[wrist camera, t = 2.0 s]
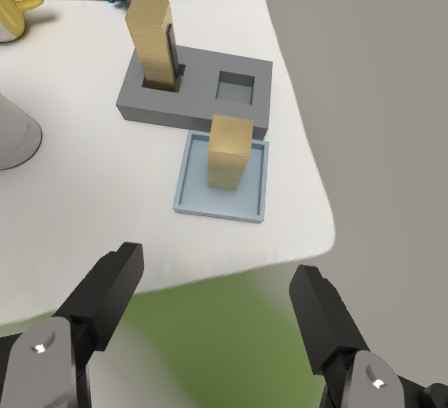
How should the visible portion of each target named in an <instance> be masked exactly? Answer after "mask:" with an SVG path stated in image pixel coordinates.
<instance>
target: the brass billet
mask: <svg viewBox="0 0 448 408" xmlns="http://www.w3.org/2000/svg"><path fill="white" fill-rule="evenodd" d="M253 122H254V120H248V119H242V118H235V117H229V116H223V115H216V114H213V120H212V126H211V132H210V138H209V144H208V188H215V189H222V190H229V191H236V189H237V187H238V185H239V182H240V180H241V177H242V175H243V173H244V170H245V168H246V165H247V163H248V161H249V158H250V154H251V144H252V133H253Z"/></svg>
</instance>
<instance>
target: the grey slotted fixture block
mask: <svg viewBox="0 0 448 408" xmlns="http://www.w3.org/2000/svg"><path fill="white" fill-rule="evenodd" d="M176 47H177V53H178V60H179V66H180V72H181V79H182V80H181V84H180V88H179V93H174V92H168V91H162V90H156V89H150V88H149V85H148V83H147V80H146V77H145V74H144V71H143V69H142V66H141V63H140V60H139V57H138V54H137V52H136V49H134V52H133V55H132V58H131V61H130V64H129V67H128V70H127V73H126V76H125V79H124V82H123V85H122V87H121V90H120V93H119V96H118V99H117V102H116V106H117V108H118V109H119V111H120V112H121V114H122V116H123V117H124V119H125V120H132V121H138V122H145V123H151V124H158V125H164V126H171V127H177V128H184V129H190V130H197V131H203V132H211V126H212V120H213V114H216V115H223V116H229V117H235V118H242V119H248V120H254V122H253V133H252V139H255V140H262V141H263V139H264V136H265V134H266V132H267V130H268V124H269V109H270V94H271V79H272V65H273V62H271V61H265V60H259V59H253V58H248V57H242V56H236V55H230V54H224V53H219V52H213V51H207V50H201V49H195V48H190V47H184V46H178V45H176Z"/></svg>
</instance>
